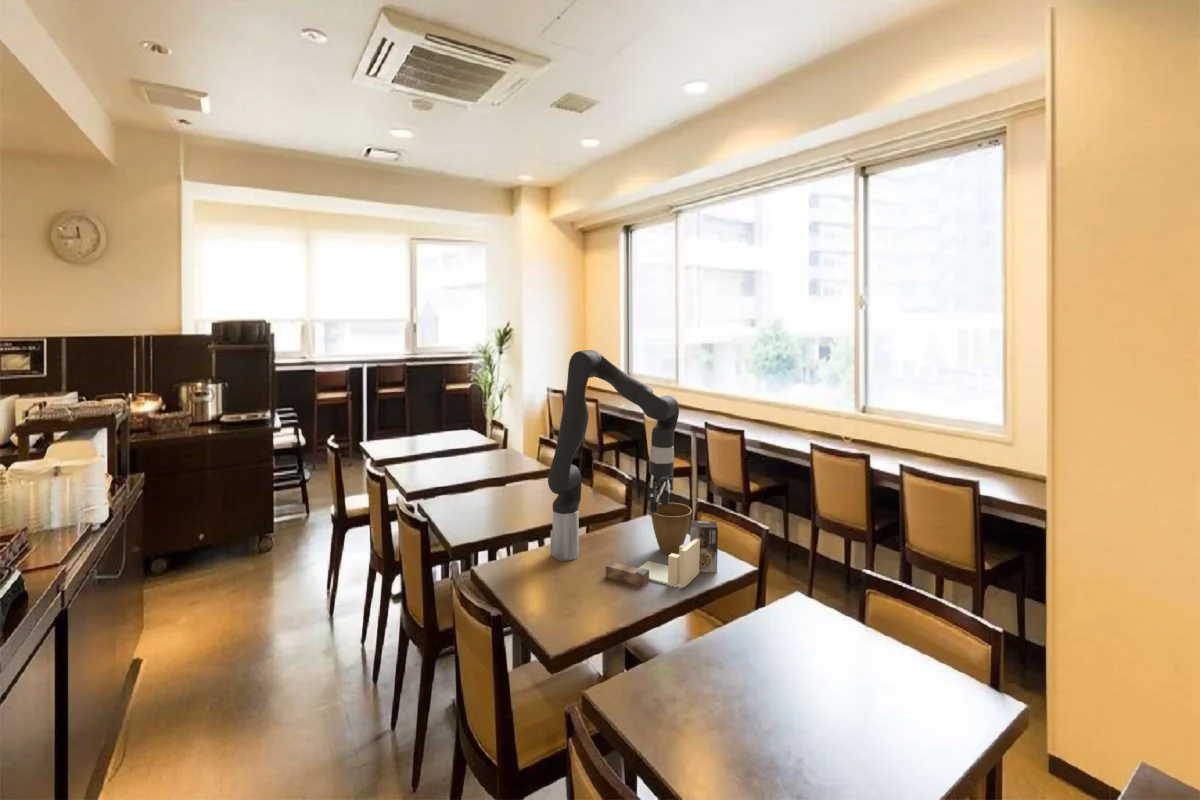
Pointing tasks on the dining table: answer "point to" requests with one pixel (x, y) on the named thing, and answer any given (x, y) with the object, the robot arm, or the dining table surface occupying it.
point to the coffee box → (706, 543)
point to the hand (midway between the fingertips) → (659, 508)
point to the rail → (627, 574)
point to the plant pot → (671, 526)
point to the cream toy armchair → (677, 566)
